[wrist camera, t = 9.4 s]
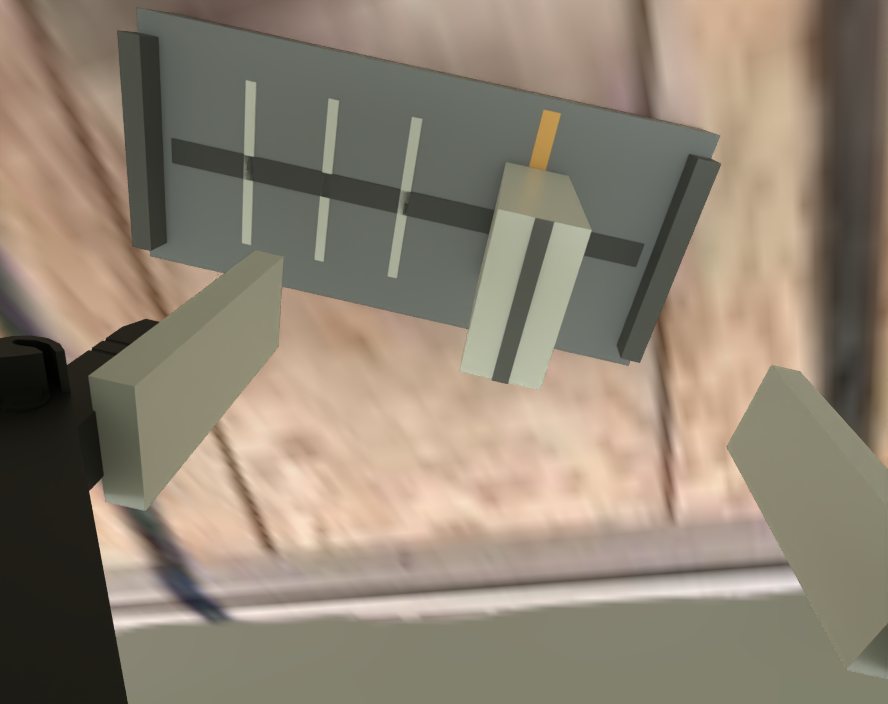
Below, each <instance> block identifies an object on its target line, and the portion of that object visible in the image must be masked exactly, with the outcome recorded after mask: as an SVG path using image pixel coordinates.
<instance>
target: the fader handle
mask: <svg viewBox="0 0 888 704" xmlns="http://www.w3.org/2000/svg"><path fill="white" fill-rule="evenodd" d="M591 231H592V230H591V227H590V225H589V223H588V220H587V218H586V215H585V213H584V211H583V208H582V206H581V204H580V201H579V199H578V196H577V194H576V192H575V189H574V187H573V185H572V182H571V180H570V177H569V176H567V175H563V174H558V173H554V172H549V171H545V170H540V169H536V168H531V167H527V166H522V165H518V164H513V163H509V162H506V164H505V168H504V172H503V177H502V181H501V185H500V189H499V194H498V198H497V202H496V206H495V211H494V215H493V219H492V223H491V228H490V232H489V236H488V240H487V245H486V249H485V253H484V257H483V262H482V266H481V270H480V275H479V279H478V283H477V288H476V293H475V298H474V303H473V308H472V313H471V318H470V322H469V327H468V332H467V337H466V342H465V347H464V352H463V357H462V362H461V366H460V371H459V372H464V373H468V374H472V375H477V376H481V377H485V378H490V379H492V381H497V382H501V383H505V384H508V383H511V384H516V385H520V386H524V387H529V388H533V389H537V390H540V389H541V386H542V383H543V380H544V377H545V374H546V371H547V368H548V365H549V361H550V358H551V355H552V352H553V349H554V346H555V343H556V340H557V337H558V333H559V330H560V327H561V324H562V321H563V318H564V315H565V312H566V309H567V305H568V302H569V299H570V296H571V293H572V290H573V287H574V284H575V281H576V277H577V274H578V271H579V268H580V265H581V262H582V259H583V256H584V253H585V249H586V246H587V243H588V240H589V237H590V234H591Z"/></svg>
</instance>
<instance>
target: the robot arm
mask: <svg viewBox="0 0 888 704" xmlns="http://www.w3.org/2000/svg"><path fill="white" fill-rule="evenodd" d="M282 275H283V256H279V255H274V254H270V253H265V252H261V251H256V250H255V251H254V252H252V253H251V254H250V255H248V256H247V257H246V258H244V259H243V260H242V261H240V262H239V263H238V264H236V265H235V266H234V267H232V268H231V269H230V270H228V271H227V272H226V273H224V274H223V275H222V276H220V277H219V278H218V279H216V280H215V281H214V282H212V283H211V284H210V285H209V286H207V287H206V288H205V289H203V290H202V291H201V292H199V293H198V294H197V295H195V296H194V297H193V298H191V299H190V300H189V301H187V302H186V303H185V304H183V305H182V306H181V307H179V308H178V309H177V310H175V311H174V312H173V313H171V314H170V315H169V316H167V317H166V318H165V319H163V320H162V321H161V322H158V321H153V320H149V319H144V320H141V321H138V322H135V323H132V324H129V325H126V326H123V327H121V328H120V329H119V330H117V331H116V332H114V333H113V334H111V335H110V336H109V337H107V338H106V340H105V341H101V342H100V343H98V344H97V345H96V346H94V347H93V348H92V350H91V351H90V350H88V351H87V352H85V353H84V354H83V355H81V356H80V357H78V358H77V359H75V360H74V361H72V362H71V363H70V364H68V365H67V364H66V357H65V351H64V349H63V348H62V346H61V345H60V344H59V343H57V342H55V341H53V340H51V339H49V338H43V337H37V336H10V337H4V338H0V704H128V702H127V696H126V690H125V686H124V679H123V674H122V669H121V663H120V658H119V652H118V647H117V642H116V636H115V630H114V625H113V619H112V614H111V609H110V603H109V598H108V592H107V587H106V581H105V576H104V570H103V565H102V559H101V554H100V548H99V543H98V538H97V532H96V527H95V521H94V516H93V510H92V505H91V499H90V494H89V491H90V490H91V489H92V488H93V486H94V485H95V484H96V483H97V482H98V481H99V480H100V479H101V478H102V482H103V490H104V497H105V502H109V503H113V504H118V505H122V506H126V507H131V508H135V509H140V510H144V511H146V510H147V508H148V507H149V506H150V505H151V503H152V502H153V501H154V500H155V498H156V497H157V496H158V495H159V494H160V492H161V491H162V490H163V489H164V487H165V486H166V485H167V484H168V482H169V481H170V480H171V479H172V477H173V476H174V475H175V474H176V473H177V471H178V470H179V469H180V468H181V466H182V465H183V464H184V463H185V461H186V460H187V459H188V458H189V457H190V455H191V454H192V453H193V452H194V450H195V449H196V448H197V447H198V445H199V444H200V443H201V442H202V440H203V439H204V438H205V437H206V436H207V434H208V433H209V432H210V431H211V429H212V428H213V427H214V426H215V424H216V423H217V422H218V421H219V419H220V418H221V417H222V416H223V415H224V413H225V412H226V411H227V410H228V408H229V407H230V406H231V405H232V403H233V402H234V401H235V400H236V399H237V397H238V396H239V395H240V394H241V392H242V391H243V390H244V389H245V387H246V386H247V385H248V384H249V382H250V381H251V380H252V379H253V378H254V376H255V375H256V374H257V373H258V371H259V370H260V369H261V368H262V366H263V365H264V364H265V363H266V362H267V360H268V359H269V358H270V357H271V355H272V354H273V353H274V352H275V350H276V349H277V348H278V346H279V328H280V311H281V293H282ZM727 449H728V451H729V453H730V454H731V456H732V458H733V460H734V462H735V464H736V466H737V467H738V469H739V471H740V473H741V475H742V477H743V479H744V480H745V482H746V484H747V486H748V488H749V490H750V492H751V494H752V495H753V497H754V499H755V501H756V503H757V505H758V507H759V508H760V510H761V512H762V514H763V516H764V518H765V520H766V521H767V523H768V525H769V527H770V529H771V531H772V533H773V535H774V536H775V538H776V540H777V542H778V544H779V546H780V548H781V549H782V551H783V553H784V555H785V557H786V559H787V561H788V562H789V564H790V566H791V568H792V570H793V572H794V574H795V575H796V577H797V579H798V581H799V583H800V585H801V587H802V589H803V590H804V592H805V594H806V596H807V598H808V600H809V602H810V603H811V605H812V607H813V609H814V611H815V613H816V615H817V616H818V618H819V620H820V622H821V624H822V626H823V628H824V629H825V631H826V633H827V635H828V637H829V639H830V641H831V643H832V644H833V646H834V648H835V650H836V652H837V654H838V655H839V657H840V659H841V661H842V663H843V665H844V667H845V669H846V670H849V671H854V672H858V673H862V674H867V675H871V676H876V677H880V678H884V679H888V469H887V468H886V467H885V466H884V465H883V463H882V462H881V461H880V460H879V459H878V458H877V457H876V456H875V454H874V453H873V452H872V451H871V450H870V449H869V448H868V447H867V446H866V444H865V443H864V442H863V441H862V440H861V439H860V438H859V437H858V436H857V434H856V433H855V432H854V431H853V430H852V429H851V428H850V427H849V425H848V424H847V423H846V422H845V421H844V420H843V419H842V418H841V417H840V415H839V414H838V413H837V412H836V411H835V410H834V409H833V408H832V407H831V405H830V404H829V403H828V402H827V401H826V400H825V399H824V398H823V396H822V395H821V394H820V393H819V392H818V391H817V390H816V389H815V388H814V386H813V385H812V384H811V383H810V382H809V381H808V380H807V379H806V378H805V376H804V375H803V374H802V373H801V372H800V371H796V370H792V369H787V368H783V367H778V366H774V365H771V366H770V368H769V370H768V372H767V374H766V376H765V377H764V379H763V381H762V383H761V385H760V387H759V388H758V390H757V392H756V394H755V396H754V398H753V399H752V401H751V403H750V405H749V407H748V409H747V410H746V412H745V414H744V416H743V418H742V420H741V421H740V423H739V425H738V427H737V429H736V431H735V432H734V434H733V436H732V438H731V440H730V442H729V443H728V445H727Z"/></svg>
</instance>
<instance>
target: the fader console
mask: <svg viewBox="0 0 888 704" xmlns="http://www.w3.org/2000/svg"><path fill="white" fill-rule="evenodd" d="M136 9H137V27H138V32H128V31H117V34H118V48H119V62H120V76H121V90H122V105H123V119H124V133H125V147H126V161H127V176H128V190H129V204H130V218H131V233H132V247H136V248H140V249H144V250H149V251H150V256H151V257H156V258H160V259H164V260H169V261H173V262H178V263H182V264H186V265H191V266H195V267H199V268H204V269H208V270H213V271H217V272H221V273H226V272H227V271H228V270H230V269H231V268H232V267H234V266H235V265H236V264H238V263H239V262H240V261H242V260H243V259H244V258H246V257H247V256H248V255H250V254H251V253H252V252H254V251H255V250H256V251H261V252H265V253H270V254H274V255H279V256H283V275H282V287H287V288H291V289H295V290H300V291H304V292H309V293H313V294H317V295H322V296H326V297H330V298H335V299H339V300H344V301H348V302H352V303H357V304H361V305H365V306H370V307H374V308H378V309H383V310H387V311H392V312H396V313H400V314H405V315H409V316H413V317H418V318H422V319H427V320H431V321H435V322H440V323H444V324H448V325H453V326H457V327H461V328H466V329H468V327H469V322H470V318H471V313H472V308H473V303H474V298H475V293H476V288H477V283H478V279H479V275H480V270H481V266H482V262H483V257H484V253H485V249H486V245H487V240H488V236H489V232H490V228H491V223H492V219H493V215H494V211H495V206H496V202H497V198H498V194H499V189H500V185H501V181H502V177H503V172H504V168H505V164H506V162H509V163H513V164H518V165H522V166H527V167H531V168H536V169H540V170H545V171H549V172H554V173H558V174H563V175H567V176H569V177H570V180H571V182H572V185H573V187H574V189H575V192H576V194H577V196H578V199H579V201H580V204H581V206H582V208H583V211H584V213H585V215H586V218H587V220H588V223H589V225H590V227H591V230H592V231H591V234H590V237H589V240H588V243H587V246H586V249H585V253H584V256H583V259H582V262H581V265H580V268H579V271H578V274H577V277H576V281H575V284H574V287H573V290H572V293H571V296H570V299H569V302H568V305H567V309H566V312H565V315H564V318H563V321H562V324H561V327H560V330H559V333H558V337H557V340H556V343H555V346H554V349H558V350H562V351H566V352H571V353H575V354H579V355H584V356H588V357H592V358H597V359H601V360H606V361H610V362H614V363H619V364H623V365H627V366H628V365H629V363H630V361H634V362H638V363H640V361H641V359H642V356H643V354H644V351H645V349H646V347H647V344H648V342H649V339H650V337H651V334H652V332H653V329H654V327H655V325H656V322H657V320H658V317H659V315H660V312H661V310H662V307H663V305H664V303H665V300H666V298H667V295H668V293H669V290H670V288H671V285H672V283H673V281H674V278H675V276H676V273H677V271H678V268H679V266H680V263H681V261H682V259H683V256H684V254H685V251H686V249H687V246H688V244H689V241H690V239H691V237H692V234H693V232H694V229H695V227H696V224H697V222H698V219H699V217H700V214H701V212H702V210H703V207H704V205H705V202H706V200H707V197H708V195H709V192H710V190H711V188H712V185H713V183H714V180H715V178H716V175H717V173H718V170H719V168H720V166H721V163H719V162H717V161H715V160H713V159H711V157H712V155H713V152H714V150H715V147H716V145H717V142H718V140H719V137H720V136H719V135H717V134H714V133H711V132H708V131H705V130H703V129H699V128H694V127H690V126H685V125H681V124H676V123H672V122H667V121H662V120H658V119H653V118H649V117H644V116H640V115H635V114H631V113H626V112H621V111H617V110H612V109H608V108H603V107H599V106H594V105H590V104H585V103H580V102H576V101H571V100H567V99H562V98H558V97H553V96H549V95H544V94H539V93H535V92H530V91H526V90H521V89H517V88H512V87H508V86H503V85H498V84H494V83H489V82H485V81H480V80H476V79H471V78H467V77H462V76H457V75H453V74H448V73H444V72H439V71H435V70H430V69H426V68H421V67H416V66H412V65H407V64H403V63H398V62H394V61H389V60H384V59H380V58H375V57H371V56H366V55H362V54H357V53H353V52H348V51H343V50H339V49H334V48H330V47H325V46H321V45H316V44H312V43H307V42H302V41H298V40H293V39H289V38H284V37H280V36H275V35H271V34H266V33H261V32H257V31H252V30H248V29H243V28H239V27H234V26H230V25H225V24H220V23H216V22H211V21H207V20H202V19H198V18H193V17H189V16H184V15H179V14H175V13H169V12H163V11H156V10H149V9H143V8H136Z"/></svg>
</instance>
